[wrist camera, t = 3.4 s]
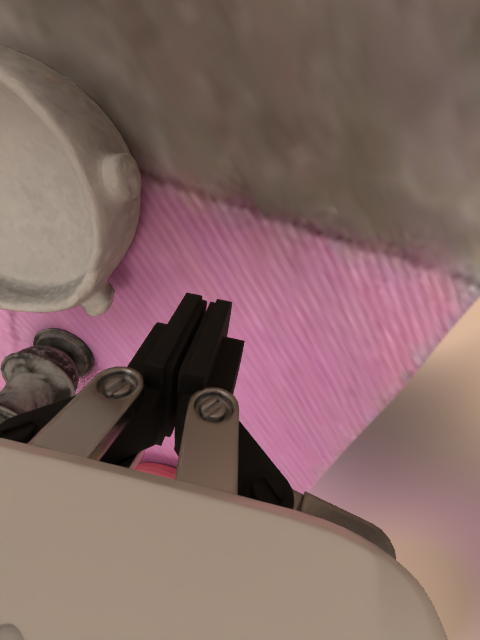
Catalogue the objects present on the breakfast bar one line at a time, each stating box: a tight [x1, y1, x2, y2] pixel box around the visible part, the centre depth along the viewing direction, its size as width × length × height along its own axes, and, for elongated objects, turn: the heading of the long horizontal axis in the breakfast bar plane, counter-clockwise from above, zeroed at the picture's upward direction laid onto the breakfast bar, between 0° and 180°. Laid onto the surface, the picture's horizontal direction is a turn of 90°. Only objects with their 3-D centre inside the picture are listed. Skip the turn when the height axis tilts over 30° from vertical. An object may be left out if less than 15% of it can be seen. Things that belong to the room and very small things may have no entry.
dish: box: [0, 46, 141, 316], centre depth 19 cm, size 14×14×5 cm
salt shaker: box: [0, 328, 94, 422], centre depth 24 cm, size 6×6×12 cm
